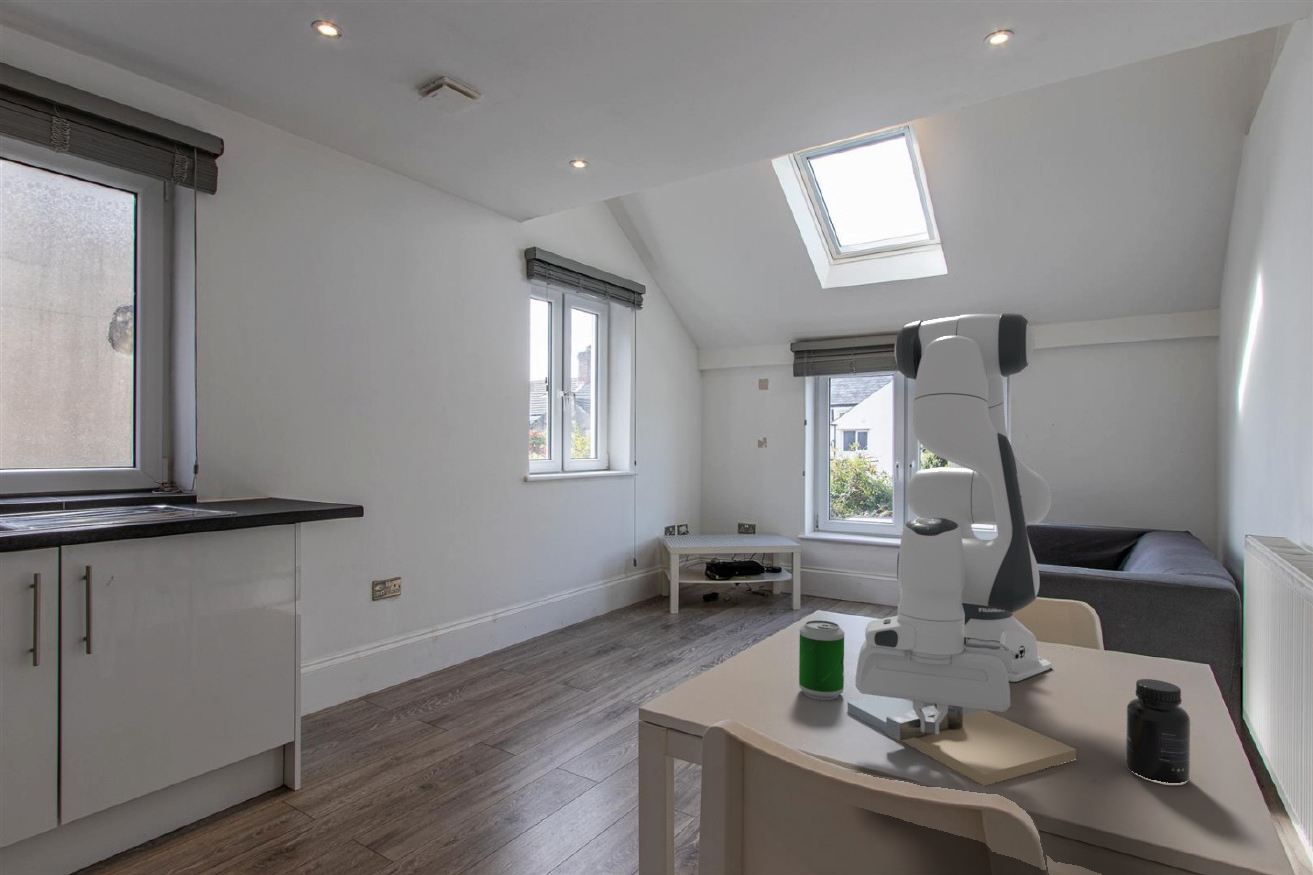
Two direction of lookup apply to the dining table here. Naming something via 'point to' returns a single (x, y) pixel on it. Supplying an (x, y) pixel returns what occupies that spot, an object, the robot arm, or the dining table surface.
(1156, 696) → the supplement bottle
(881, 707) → the door board
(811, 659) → the soda can
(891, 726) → the swing bar
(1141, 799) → the dining table surface
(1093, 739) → the dining table surface
